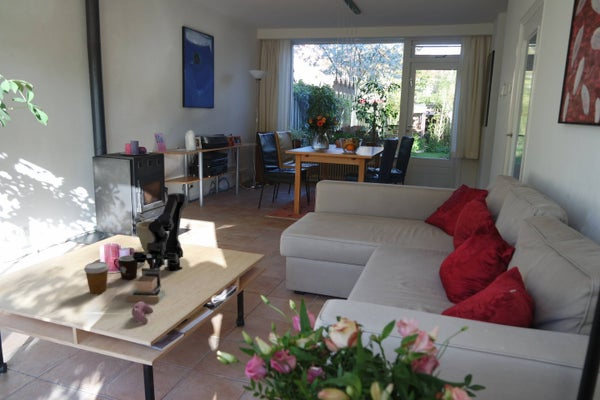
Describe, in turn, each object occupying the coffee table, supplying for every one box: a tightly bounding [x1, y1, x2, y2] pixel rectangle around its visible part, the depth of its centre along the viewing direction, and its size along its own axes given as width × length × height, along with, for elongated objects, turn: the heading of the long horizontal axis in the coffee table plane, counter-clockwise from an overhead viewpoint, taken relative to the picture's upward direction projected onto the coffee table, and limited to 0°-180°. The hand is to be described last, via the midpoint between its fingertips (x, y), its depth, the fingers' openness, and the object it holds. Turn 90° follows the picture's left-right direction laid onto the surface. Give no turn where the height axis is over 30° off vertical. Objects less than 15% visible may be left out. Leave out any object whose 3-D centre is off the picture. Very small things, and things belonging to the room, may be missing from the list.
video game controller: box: [131, 302, 154, 324], centre depth 163 cm, size 10×5×7 cm, turn 5°
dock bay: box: [126, 288, 166, 304], centre depth 181 cm, size 9×13×3 cm
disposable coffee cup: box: [83, 261, 110, 295], centre depth 186 cm, size 10×10×12 cm
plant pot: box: [135, 220, 154, 255], centre depth 242 cm, size 15×15×16 cm
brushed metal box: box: [134, 267, 162, 296], centre depth 182 cm, size 9×8×10 cm
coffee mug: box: [113, 254, 138, 281], centre depth 203 cm, size 12×9×10 cm
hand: (151, 275), depth 186 cm, fingers closed
